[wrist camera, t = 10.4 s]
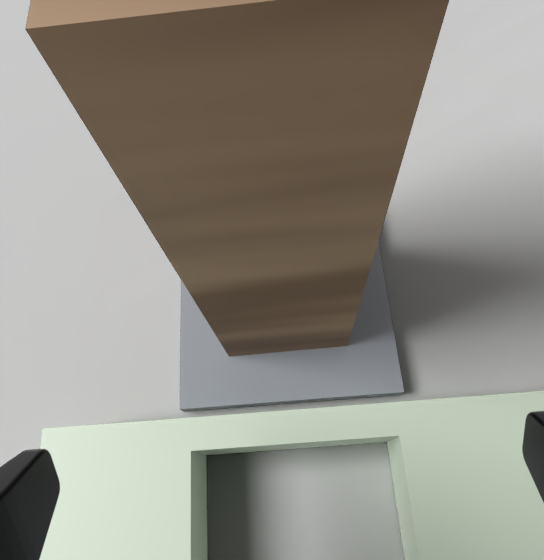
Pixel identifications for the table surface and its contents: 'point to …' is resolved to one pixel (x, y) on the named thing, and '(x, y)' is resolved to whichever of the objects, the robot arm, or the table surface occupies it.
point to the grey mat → (292, 361)
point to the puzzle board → (292, 435)
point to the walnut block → (252, 142)
